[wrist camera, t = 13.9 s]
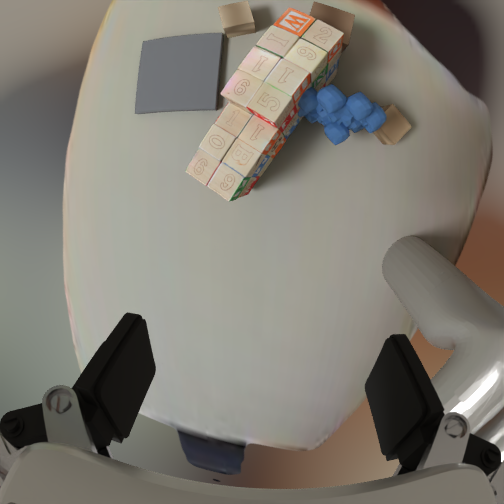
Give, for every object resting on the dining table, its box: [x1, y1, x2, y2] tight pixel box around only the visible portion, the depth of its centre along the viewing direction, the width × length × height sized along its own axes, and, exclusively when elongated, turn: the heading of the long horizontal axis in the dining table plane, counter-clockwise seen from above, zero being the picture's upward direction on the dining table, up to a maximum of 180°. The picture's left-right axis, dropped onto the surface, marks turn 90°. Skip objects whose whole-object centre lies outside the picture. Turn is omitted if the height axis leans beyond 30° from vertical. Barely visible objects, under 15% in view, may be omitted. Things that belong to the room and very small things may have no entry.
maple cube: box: [218, 1, 256, 38], centre depth 26 cm, size 4×4×4 cm
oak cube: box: [373, 104, 412, 145], centre depth 30 cm, size 4×4×4 cm
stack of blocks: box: [185, 8, 344, 201], centre depth 27 cm, size 21×6×12 cm, turn 146°
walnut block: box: [309, 2, 355, 53], centre depth 24 cm, size 5×5×8 cm
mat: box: [135, 33, 224, 114], centre depth 30 cm, size 12×12×1 cm
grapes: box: [298, 84, 387, 145], centre depth 27 cm, size 12×7×12 cm, turn 84°
